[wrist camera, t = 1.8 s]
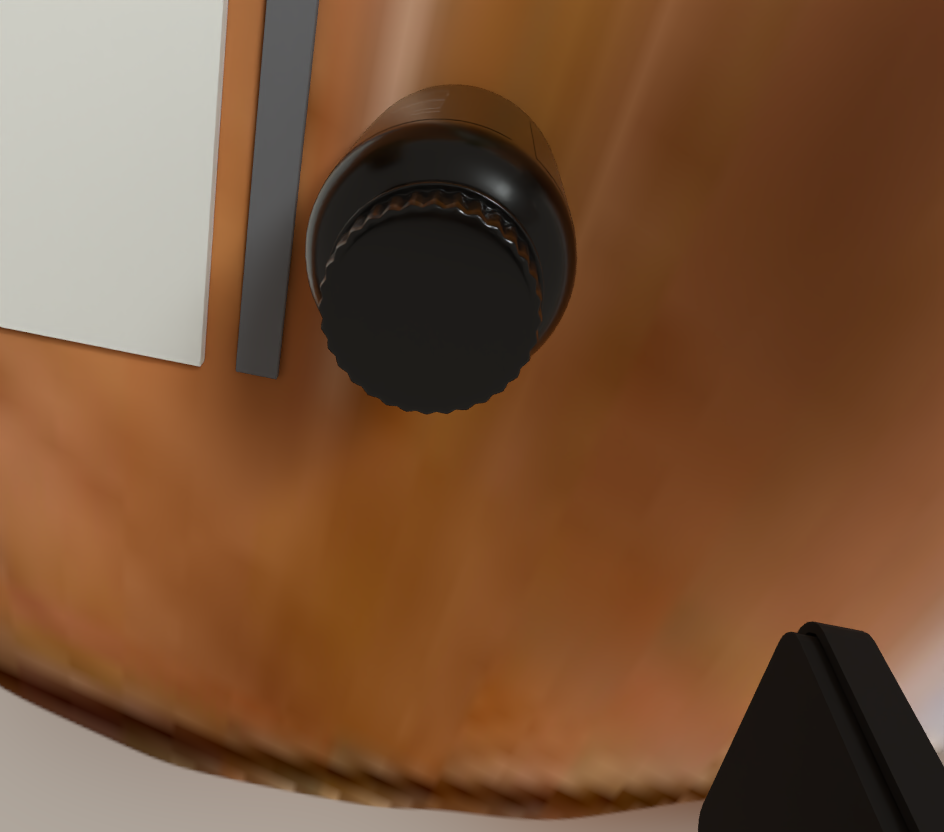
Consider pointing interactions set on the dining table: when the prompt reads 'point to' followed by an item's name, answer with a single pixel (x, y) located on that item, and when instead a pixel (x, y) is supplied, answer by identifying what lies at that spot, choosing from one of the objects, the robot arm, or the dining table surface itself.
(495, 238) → the supplement bottle
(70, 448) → the dining table surface
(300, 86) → the white tile with strip
